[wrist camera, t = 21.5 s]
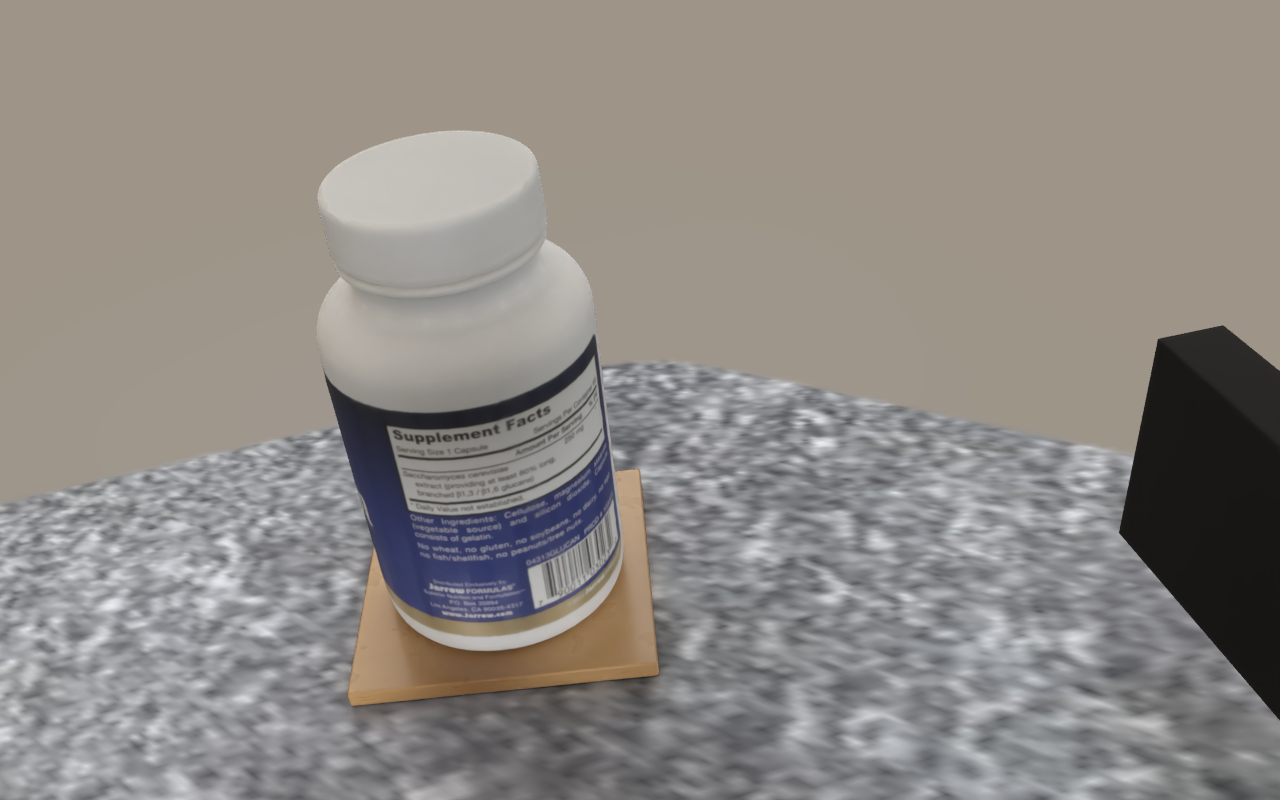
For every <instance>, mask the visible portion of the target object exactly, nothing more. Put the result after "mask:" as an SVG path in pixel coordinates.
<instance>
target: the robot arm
mask: <svg viewBox="0 0 1280 800" xmlns="http://www.w3.org/2000/svg"><path fill="white" fill-rule="evenodd" d="M1119 533H1120V535H1121V536H1122V537H1123V538H1124V539H1125V540H1126V542H1127V543H1128V544H1129V545H1130V546H1131V547H1132V549H1133V550H1134V551H1135V552H1136V553H1137V554H1138V556H1139V557H1140V558H1141V559H1142V560H1143V561H1144V563H1145V564H1146V565H1147V566H1148V567H1149V568H1150V570H1151V571H1152V572H1153V573H1154V574H1155V575H1156V577H1157V578H1158V579H1159V580H1160V581H1161V582H1162V584H1163V585H1164V586H1165V587H1166V588H1167V589H1168V591H1169V592H1170V593H1171V594H1172V595H1173V596H1174V598H1175V599H1176V600H1177V601H1178V602H1179V603H1180V604H1181V606H1182V607H1183V608H1184V609H1185V610H1186V611H1187V613H1188V614H1189V615H1190V616H1191V617H1192V618H1193V620H1194V621H1195V622H1196V623H1197V624H1198V625H1199V627H1200V628H1201V629H1202V630H1203V631H1204V632H1205V634H1206V635H1207V636H1208V637H1209V638H1210V639H1211V641H1212V642H1213V643H1214V644H1215V645H1216V646H1217V648H1218V649H1219V650H1220V651H1221V652H1222V653H1223V655H1224V656H1225V657H1226V658H1227V659H1228V660H1229V662H1230V663H1231V664H1232V665H1233V666H1234V667H1235V669H1236V670H1237V671H1238V672H1239V673H1240V674H1241V676H1242V677H1243V678H1244V679H1245V680H1246V681H1247V683H1248V684H1249V685H1250V686H1251V687H1252V688H1253V690H1254V691H1255V692H1256V693H1257V694H1258V695H1259V697H1260V698H1261V699H1262V700H1263V701H1264V702H1265V704H1266V705H1267V706H1268V707H1269V708H1270V709H1271V711H1272V712H1273V713H1274V714H1275V715H1276V716H1277V718H1278V719H1279V720H1280V371H1279V370H1278V369H1276V368H1275V367H1274V366H1273V365H1271V364H1270V363H1269V362H1268V361H1266V360H1265V359H1264V358H1263V357H1262V356H1260V355H1259V354H1258V353H1257V352H1255V351H1254V350H1253V349H1252V348H1250V347H1249V346H1248V345H1247V344H1246V343H1244V342H1243V341H1242V340H1240V339H1239V338H1238V337H1237V336H1236V335H1234V334H1233V333H1232V332H1231V331H1229V330H1228V329H1227V328H1226V327H1224V326H1218V327H1213V328H1209V329H1204V330H1199V331H1194V332H1189V333H1184V334H1180V335H1175V336H1170V337H1165V338H1161V339H1158V342H1157V347H1156V352H1155V357H1154V362H1153V367H1152V372H1151V377H1150V382H1149V387H1148V392H1147V397H1146V402H1145V407H1144V412H1143V416H1142V422H1141V426H1140V431H1139V436H1138V441H1137V446H1136V451H1135V456H1134V461H1133V466H1132V471H1131V476H1130V481H1129V486H1128V491H1127V496H1126V501H1125V506H1124V511H1123V516H1122V521H1121V526H1120V531H1119Z"/></svg>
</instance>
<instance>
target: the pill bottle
mask: <svg viewBox="0 0 1280 800" xmlns="http://www.w3.org/2000/svg"><path fill="white" fill-rule="evenodd" d="M317 201H318V207H319V211H320V215H321V219H322V223H323V227H324V232H325V236H326V240H327V245H328V250H329V253H330V256H331V257H332V259H333V261H334V265H335V269H336V271H337V272H338V274H339V275H340V276H341V277H340V278H339V279H338V280H337V281H336V283H335V284H334V285H333V286H332V288H331V289H330V291H329V292H328V294H327V296H326V297H325V299H324V301H323V304H322V306H321V309H320V312H319V315H318V319H317V329H316V335H317V344H318V350H319V354H320V358H321V362H322V366H323V370H324V374H325V378H326V382H327V386H328V389H329V393H330V396H331V400H332V403H333V406H334V410H335V413H336V417H337V420H338V424H339V427H340V431H341V434H342V438H343V441H344V445H345V448H346V452H347V455H348V459H349V462H350V466H351V469H352V473H353V476H354V480H355V484H356V487H357V491H358V494H359V497H360V500H361V504H362V507H363V510H364V514H365V517H366V520H367V524H368V527H369V531H370V534H371V537H372V541H373V544H374V548H375V551H376V554H377V558H378V562H379V565H380V569H381V572H382V575H383V578H384V581H385V584H386V587H387V589H388V592H389V595H390V598H391V600H392V602H393V604H394V606H395V608H396V610H397V611H398V612H399V614H400V615H401V617H402V618H403V619H404V620H405V621H406V623H408V624H409V625H410V626H411V627H412V628H413V629H415V630H416V631H417V632H419V633H420V634H422V635H424V636H425V637H427V638H429V639H431V640H433V641H435V642H438V643H440V644H443V645H446V646H449V647H453V648H458V649H464V650H471V651H497V650H506V649H514V648H520V647H525V646H528V645H532V644H535V643H538V642H541V641H544V640H547V639H550V638H552V637H554V636H557V635H559V634H561V633H563V632H565V631H566V630H568V629H570V628H572V627H573V626H575V625H577V624H578V623H579V622H581V621H582V620H583V619H585V618H586V617H588V616H589V615H590V614H591V613H592V612H593V611H595V610H596V609H597V608H598V606H599V605H600V604H601V603H602V602H603V601H604V600H605V599H606V597H607V596H608V595H609V593H610V591H611V590H612V588H613V586H614V584H615V582H616V580H617V578H618V575H619V572H620V569H621V565H622V560H623V551H624V550H623V534H622V525H621V516H620V509H619V500H618V493H617V485H616V478H615V470H614V462H613V454H612V446H611V438H610V430H609V422H608V415H607V407H606V399H605V391H604V383H603V375H602V367H601V358H600V350H599V341H598V331H597V322H596V315H595V308H594V301H593V295H592V291H591V287H590V285H589V282H588V280H587V278H586V276H585V274H584V272H583V271H582V269H581V268H580V267H579V265H578V264H577V263H576V261H575V260H574V259H573V258H572V257H571V256H570V255H569V254H568V253H567V252H565V251H564V250H563V249H562V248H560V247H558V246H557V245H555V244H554V243H552V242H550V241H548V240H546V239H545V238H546V234H547V225H546V222H547V209H546V206H545V202H544V196H543V191H542V185H541V179H540V175H539V168H538V164H537V161H536V158H535V156H534V155H533V153H532V152H531V151H530V150H529V149H528V148H527V147H526V146H525V145H523V144H522V143H520V142H519V141H516V140H514V139H511V138H508V137H505V136H502V135H498V134H493V133H488V132H479V131H441V132H433V133H425V134H419V135H414V136H408V137H404V138H400V139H396V140H392V141H389V142H386V143H383V144H379V145H376V146H374V147H371V148H369V149H366V150H364V151H362V152H359V153H357V154H356V155H354V156H352V157H350V158H348V159H347V160H345V161H343V162H342V163H340V164H339V165H337V166H336V167H335V168H334V169H333V170H332V171H331V172H330V173H329V174H328V175H327V176H326V177H325V179H324V180H323V182H322V184H321V185H320V188H319V191H318V199H317Z"/></svg>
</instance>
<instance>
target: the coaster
mask: <svg viewBox="0 0 1280 800" xmlns="http://www.w3.org/2000/svg"><path fill="white" fill-rule="evenodd" d="M615 478H616V485H617V493H618V500H619V509H620V516H621V525H622V534H623V550H624V551H623V560H622V565H621V569H620V572H619V575H618V578H617V580H616V582H615V584H614V586H613V588H612V590H611V591H610V593H609V595H608V596H607V597H606V599H605V600H604V601H603V602H602V603H601V604H600V605H599V606H598V608H597V609H596V610H595V611H593V612H592V613H591V614H590V615H589V616H588V617H586V618H585V619H583V620H582V621H581V622H579V623H578V624H577V625H575V626H573V627H572V628H570V629H568V630H566V631H565V632H563V633H561V634H559V635H557V636H554V637H552V638H550V639H547V640H544V641H541V642H538V643H535V644H532V645H528V646H525V647H520V648H514V649H506V650H497V651H471V650H464V649H458V648H453V647H449V646H446V645H443V644H440V643H438V642H435V641H433V640H431V639H429V638H427V637H425V636H424V635H422V634H420V633H419V632H417V631H416V630H415V629H413V628H412V627H411V626H410V625H409V624H408V623H406V621H405V620H404V619H403V618H402V617H401V615H400V614H399V612H398V611H397V610H396V608H395V606H394V604H393V602H392V600H391V598H390V595H389V592H388V589H387V587H386V584H385V581H384V578H383V575H382V572H381V569H380V565H379V562H378V558H377V554H376V551H375V548H373V554H372V559H371V565H370V570H369V576H368V581H367V587H366V592H365V598H364V603H363V609H362V614H361V620H360V625H359V631H358V637H357V642H356V648H355V653H354V659H353V664H352V670H351V675H350V681H349V686H348V692H347V695H348V698H349V701H350V704H351V706H357V705H367V704H377V703H387V702H397V701H407V700H417V699H427V698H437V697H447V696H456V695H466V694H476V693H486V692H496V691H506V690H516V689H526V688H536V687H546V686H556V685H566V684H576V683H586V682H596V681H606V680H616V679H626V678H636V677H646V676H656V675H658V674H659V666H658V655H657V645H656V634H655V624H654V613H653V602H652V592H651V581H650V571H649V560H648V550H647V539H646V529H645V518H644V508H643V497H642V487H641V476H640V470H639V469H633V470H623V471H615Z"/></svg>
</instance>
